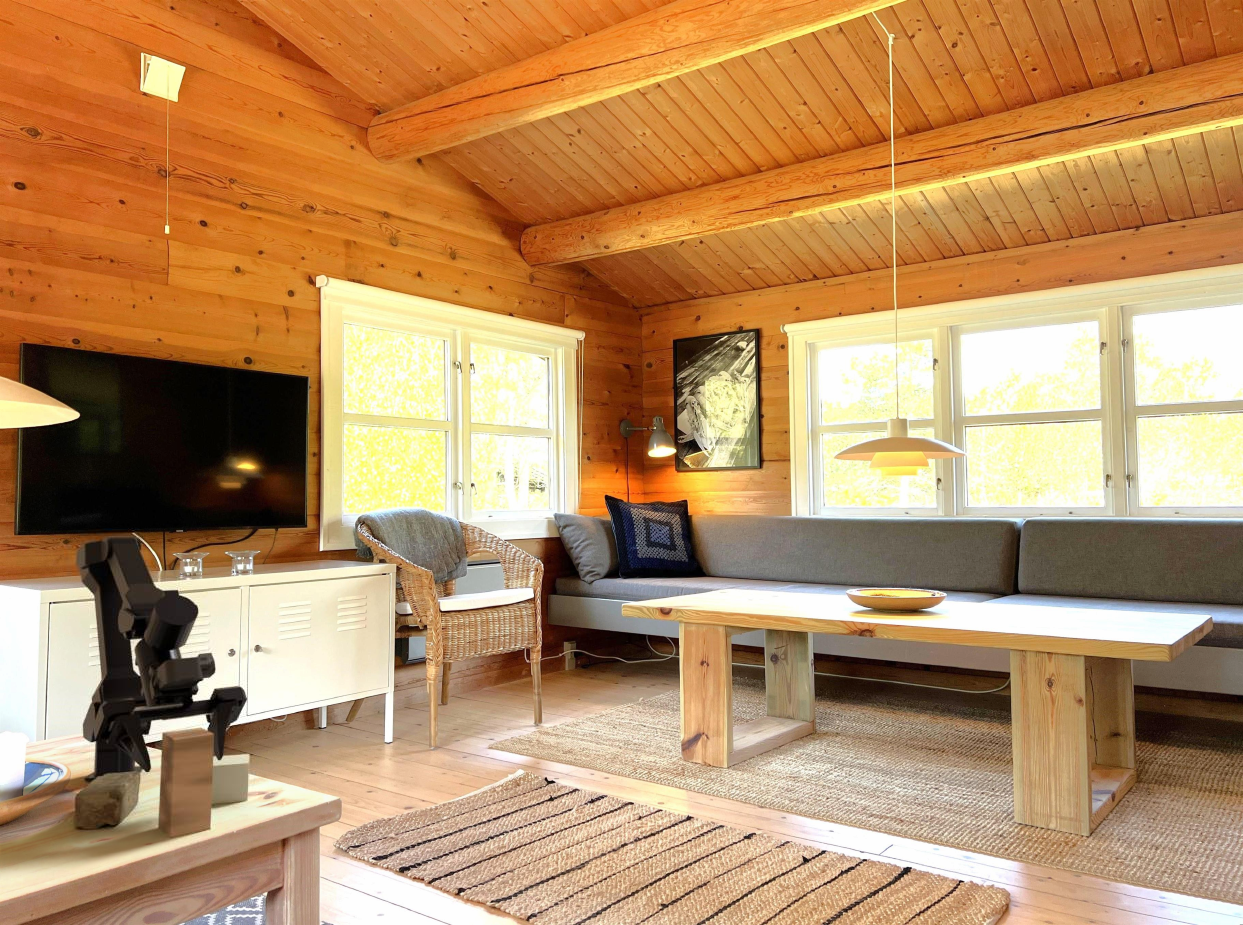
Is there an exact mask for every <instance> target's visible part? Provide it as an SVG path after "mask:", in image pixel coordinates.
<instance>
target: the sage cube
mask: <svg viewBox="0 0 1243 925" xmlns="http://www.w3.org/2000/svg"><path fill="white" fill-rule="evenodd" d="M250 755H251V754H250V753H246V754H245V753H244V754H243V753H242V754H230V755H223V757H222V759H221V760H219V761H218V759H217V758H216V756H215V755H213V777H212V802H211V805H213V804H215V805H217V804H224V803H237V802H246V801H247V802H248V801H249V800H248V798H249V780H250V779H249V778H250V776H249V775H250V774H249V773H250Z"/></svg>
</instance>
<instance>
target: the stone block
mask: <svg viewBox="0 0 1243 925" xmlns="http://www.w3.org/2000/svg"><path fill="white" fill-rule="evenodd" d="M140 784H141V772H137V771H132V772H123V773H108V774H105V775H104V776H98V777H97V778H96V779H95V780H93V781H90V783H89V784H87V785H86V786H85V787H84V788H83V789H81V790H80V791H79V792H77V794H75V797H74V816H73V818H74V820H73V827H74V829H84V830H91V829H92V830H93V829H95V830H96V829H99V828H101V827H102V826H106V825H111V826H114V825H119V824H120V823H122V821H124V820H125V818H126V817H127V816H128V815H129V814H130V813H131V812H132V811H133V809H135V807H136V806H137V805H138V803H139V793H140Z"/></svg>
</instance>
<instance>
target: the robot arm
mask: <svg viewBox="0 0 1243 925" xmlns="http://www.w3.org/2000/svg"><path fill="white" fill-rule="evenodd" d="M75 565H76V567H77V569H78V570H79V572H80V579H81V583H82V584H83V585H84V586H85V587H86V588H87V590H89V592H90V593H91V594H93V597H94V608H95V620H96V632H97V640H98V641H97V642H98V653H99V664H100V665H99V666H100V675H101V677H100V678H101V680H100V681H99V684H98V685H97V687H96V689H95V691H94V693H93V694H92V696H91V703H90V705H89V707H88V710H87V712H86V714H85V718H84V720H83V723H82V737H83V739H85V740H86V741H88V742H89V743H90V744H91V743H95V745H94V746H95V748H94V765H93V767H94V768H93V772H91V773H90V774H88V775H86V776H84V781H87V782H92V781H93V780H95V779H96V778H97V777H98V776H104V775H105V774H108V773H123V772H132V771H137V772H139V773H141V772H142V771H144V772H145V773H150V772H151V769H152V764H151V757H150V755H149V754H150V753H149V751H148V747H147V745H146V744H147V743H146V740H145V738H144V736H149V735H150V734H149V733H150V730H151V727H152V726H151V725H152V722H154V721H160V720H161V721H168V720H169V721H170V720H176V719H177V720H178V719H182V718H191V717H192V718H193V717H198V716H200V717H201V716H205V719H206V722H207V723H209V724H208V726H207V729H206V730H207V731H209V732H211V733H213V734H214V751H213V754H214V756H216V758H217V759H218V761H219V760H221V759H222V757H223V756H224V752H225V751H224V750H225V743H226V733H227V729H228V728H229V727H230V726H231V724H233V723H235V722H237V721H238V720H239V717H240V715H241V713H242V711H243V710H244V709H243V708H244V706H245V705H246V702H247V701H248V697H247V694H246V691H245V689H244V688H243V687H241V686H239V685H235V686H225V687H217V688H214V689H213V690H212V694H211V695H210V697H209V698H208V699H201V700H195V701H194V698H193V696H196V695H197V694H198V692H199V690H200V689H199V686H198V684H199V683H200V682H203V681H204V679H209V678H210V679H211V677H213V675H214V674H215V673H216V669H217V668H216V663H215V662H216V661H215V659H214V656H213V653H212V652H207V653H206V652H205V653H199V654H198V655H197V656H193V657H192V656H191V657H182V653H181V650H180V648H181V647H184V646H185V645H186V644H187V641H188V640H189V637H190V634H191V632H192V630H193V627H194V625H195V623H196V620H197V618H198V616H199V607H198V605H197V604H196V603H195V602H194V601H193V600H191V599H190V598H188V597H186V596H184V595H180V592H179V590H178V589H168V590H166V589H164V590H163V589H160V588H158V587H157V586H156V585H155V582H154V579H153V578H152V575H151V572H150V571H149V570H150V569H149V568H148V566H147V563H146V561H145V559H144V555H143V554H142V543H141V539H140V538H139V537H135V536H133V535H132V536H131V535H130V536H127V535H126V536H121V535H120V536H119V535H118V536H113V535H112V536H108V537H104V538H103V539H102V540H96V541H95V540H90V541H87V540H86V542H85V543H84V544H82V545H81V546H80V547H78V548H77V551H76V554H75ZM132 640H139V641H138V642H137V643H136V645H135V647H134V656H135V659H133V651H132V643H131V642H132ZM133 660H134V661H133ZM133 662H134V663H133ZM134 664H135V666H137V668H138V673H139V674H138V673H137V672H136V670H134V669H135V668H134ZM136 764H137V765H138V766H137V765H136Z"/></svg>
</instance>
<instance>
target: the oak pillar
mask: <svg viewBox="0 0 1243 925" xmlns="http://www.w3.org/2000/svg"><path fill="white" fill-rule="evenodd" d="M213 757H214V734H213V733H211V732H209V731H208V730H207V729H205V728H203V727H196V728H188V729H181V730H173V731H166V732H165V731H164V732H162V736H161V758H160V759H161V760H160V777H159V778H160V780H159V783H160V785H159V808H158V829H160V830H161V831H162V832H163V833H164V834H166V835H167V836H168V837H169V838H176V837H179V836H185V835H189V834H193V833H199V832H204V831H207V830H208V831H209V830H211V822H212V804H211V802H212V777H213Z"/></svg>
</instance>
